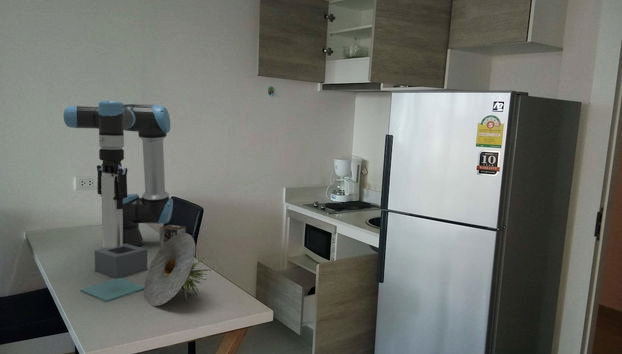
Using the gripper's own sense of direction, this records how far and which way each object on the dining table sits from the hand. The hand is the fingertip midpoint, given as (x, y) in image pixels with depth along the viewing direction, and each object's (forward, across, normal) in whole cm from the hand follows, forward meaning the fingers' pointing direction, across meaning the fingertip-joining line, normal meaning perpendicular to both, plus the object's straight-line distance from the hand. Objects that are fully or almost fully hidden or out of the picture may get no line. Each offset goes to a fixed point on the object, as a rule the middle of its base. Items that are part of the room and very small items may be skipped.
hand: (112, 217), depth 156 cm
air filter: (+10, 0, 0) cm, 10 cm away
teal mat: (+26, 0, 0) cm, 26 cm away
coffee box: (+26, -5, +30) cm, 40 cm away
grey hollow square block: (+26, -16, +14) cm, 33 cm away
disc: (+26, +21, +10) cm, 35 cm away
